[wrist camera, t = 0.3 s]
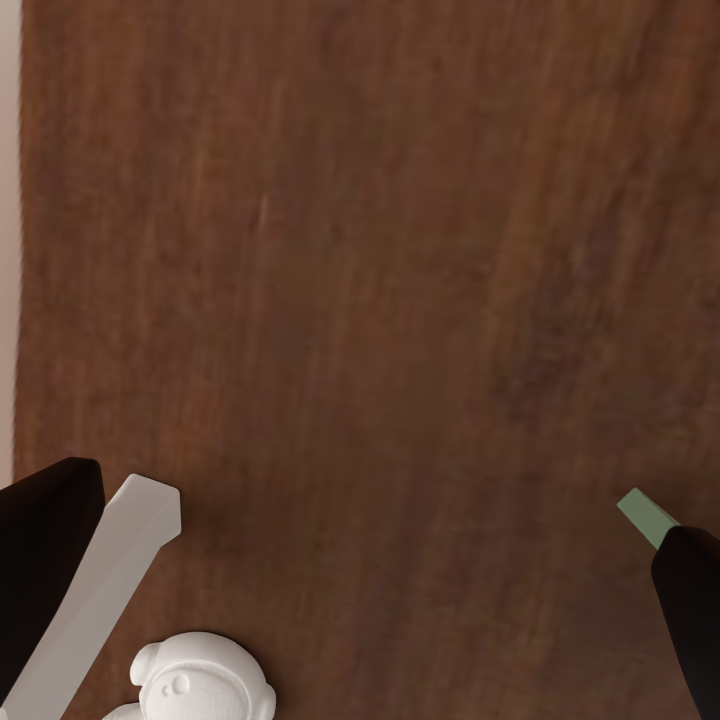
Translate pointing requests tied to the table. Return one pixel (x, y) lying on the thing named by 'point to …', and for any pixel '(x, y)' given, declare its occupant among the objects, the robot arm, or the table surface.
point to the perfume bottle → (96, 597)
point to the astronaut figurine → (197, 682)
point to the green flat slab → (647, 516)
